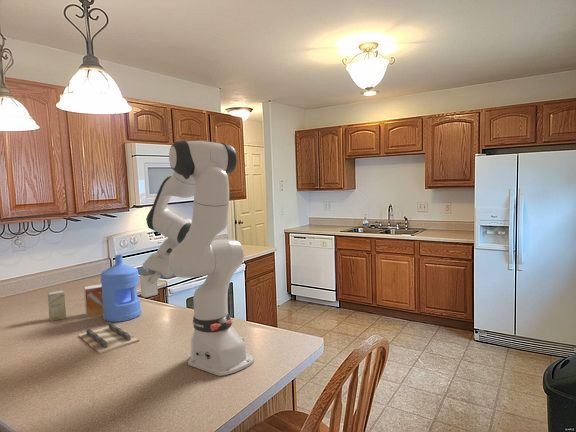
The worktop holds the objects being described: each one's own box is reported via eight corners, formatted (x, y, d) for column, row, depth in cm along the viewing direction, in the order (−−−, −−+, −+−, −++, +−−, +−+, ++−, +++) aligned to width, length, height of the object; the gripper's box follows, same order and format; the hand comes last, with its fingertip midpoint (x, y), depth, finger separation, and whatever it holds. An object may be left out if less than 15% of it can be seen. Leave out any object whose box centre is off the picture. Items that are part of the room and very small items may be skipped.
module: (158, 294, 151) (156, 272, 150) (145, 297, 147) (144, 274, 147) (153, 292, 154) (151, 270, 153) (141, 295, 150) (139, 273, 150)
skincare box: (50, 321, 170) (48, 294, 169) (49, 319, 174) (46, 292, 173) (66, 317, 174) (64, 291, 173) (65, 315, 178) (62, 289, 177)
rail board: (139, 341, 144) (138, 334, 144) (99, 353, 135) (99, 346, 134) (115, 326, 161) (114, 320, 161) (78, 336, 152) (78, 329, 152)
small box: (87, 317, 174) (84, 289, 173) (85, 313, 179) (83, 286, 178) (106, 313, 178) (104, 286, 177) (104, 310, 184) (102, 283, 182)
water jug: (95, 321, 168) (90, 258, 166) (121, 309, 183) (116, 251, 181) (125, 323, 164) (120, 259, 161) (148, 311, 179) (144, 252, 176)
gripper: (151, 246, 161) (130, 273, 155) (175, 251, 147) (152, 281, 141) (162, 255, 165) (141, 282, 159) (186, 260, 150) (164, 290, 144)
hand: (147, 281), depth 150 cm, fingers closed on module, 4 cm apart
